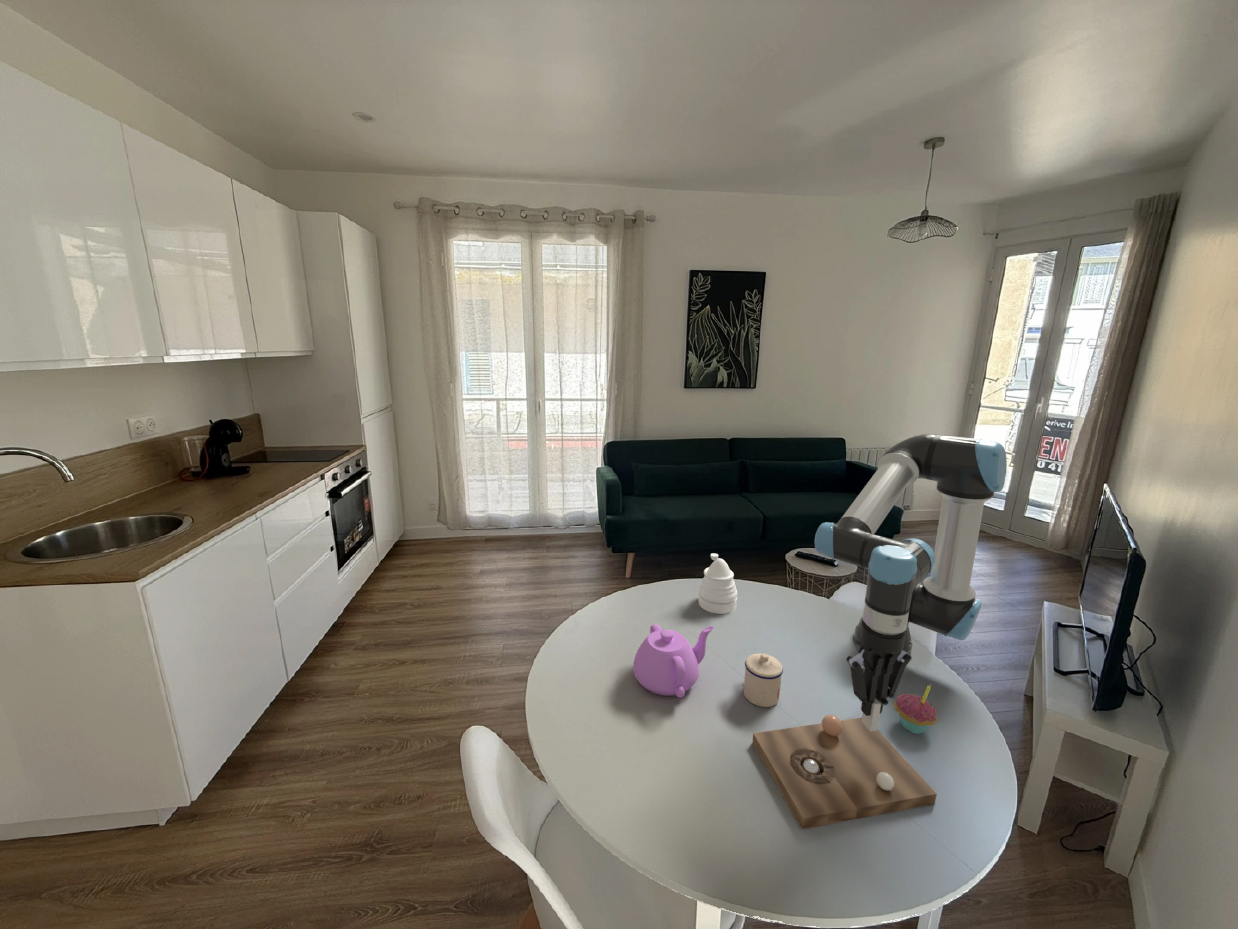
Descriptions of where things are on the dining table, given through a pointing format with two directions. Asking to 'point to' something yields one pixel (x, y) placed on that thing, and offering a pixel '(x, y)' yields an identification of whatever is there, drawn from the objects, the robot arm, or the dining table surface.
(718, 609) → the honey pot
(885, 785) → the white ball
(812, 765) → the steel ball
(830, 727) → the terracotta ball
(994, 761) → the dining table surface
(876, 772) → the wooden board
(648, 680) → the teapot
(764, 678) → the teacup with lid
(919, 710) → the cupcake
